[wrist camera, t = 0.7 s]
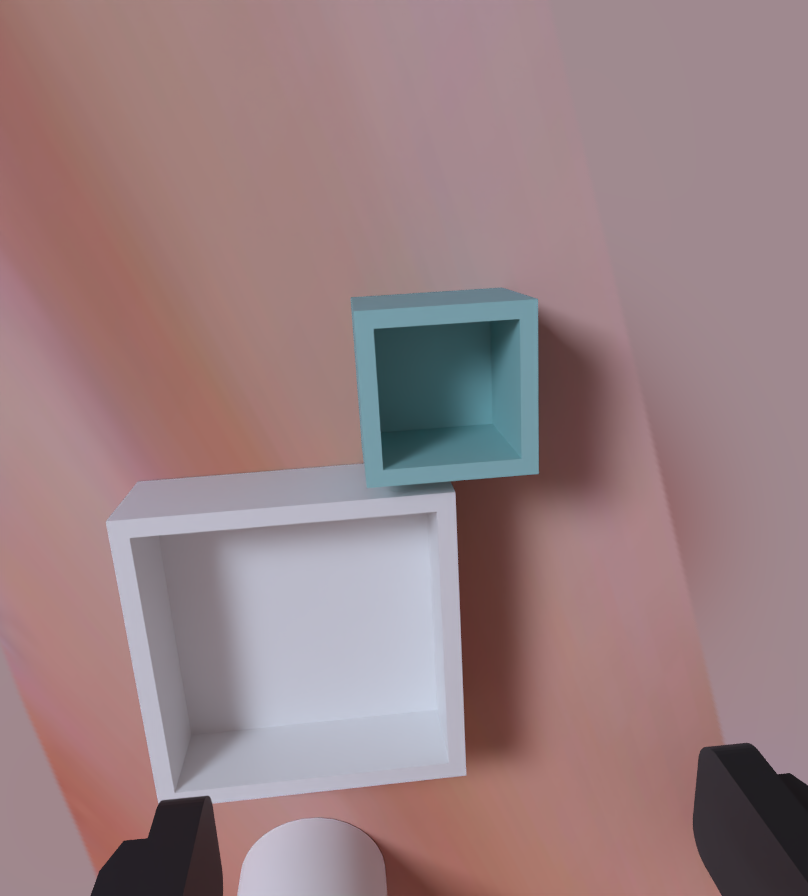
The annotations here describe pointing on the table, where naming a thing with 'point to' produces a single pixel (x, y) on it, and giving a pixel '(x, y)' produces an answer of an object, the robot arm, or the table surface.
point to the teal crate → (447, 385)
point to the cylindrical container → (314, 862)
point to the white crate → (292, 631)
